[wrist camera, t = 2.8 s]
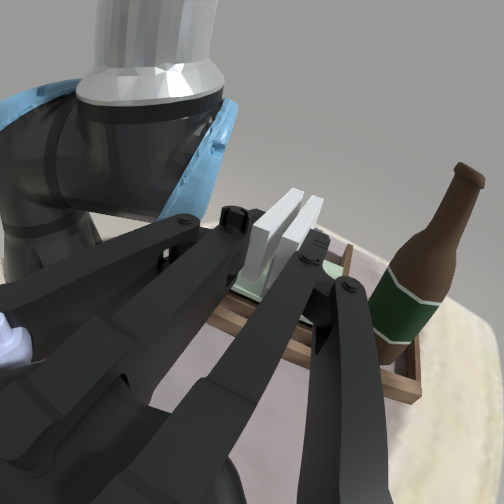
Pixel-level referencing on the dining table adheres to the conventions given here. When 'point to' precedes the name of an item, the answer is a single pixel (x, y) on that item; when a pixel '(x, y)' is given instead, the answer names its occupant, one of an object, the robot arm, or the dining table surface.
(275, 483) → the dining table surface
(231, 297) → the brown flat frame
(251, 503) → the dining table surface
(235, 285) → the cover
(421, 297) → the beer bottle
